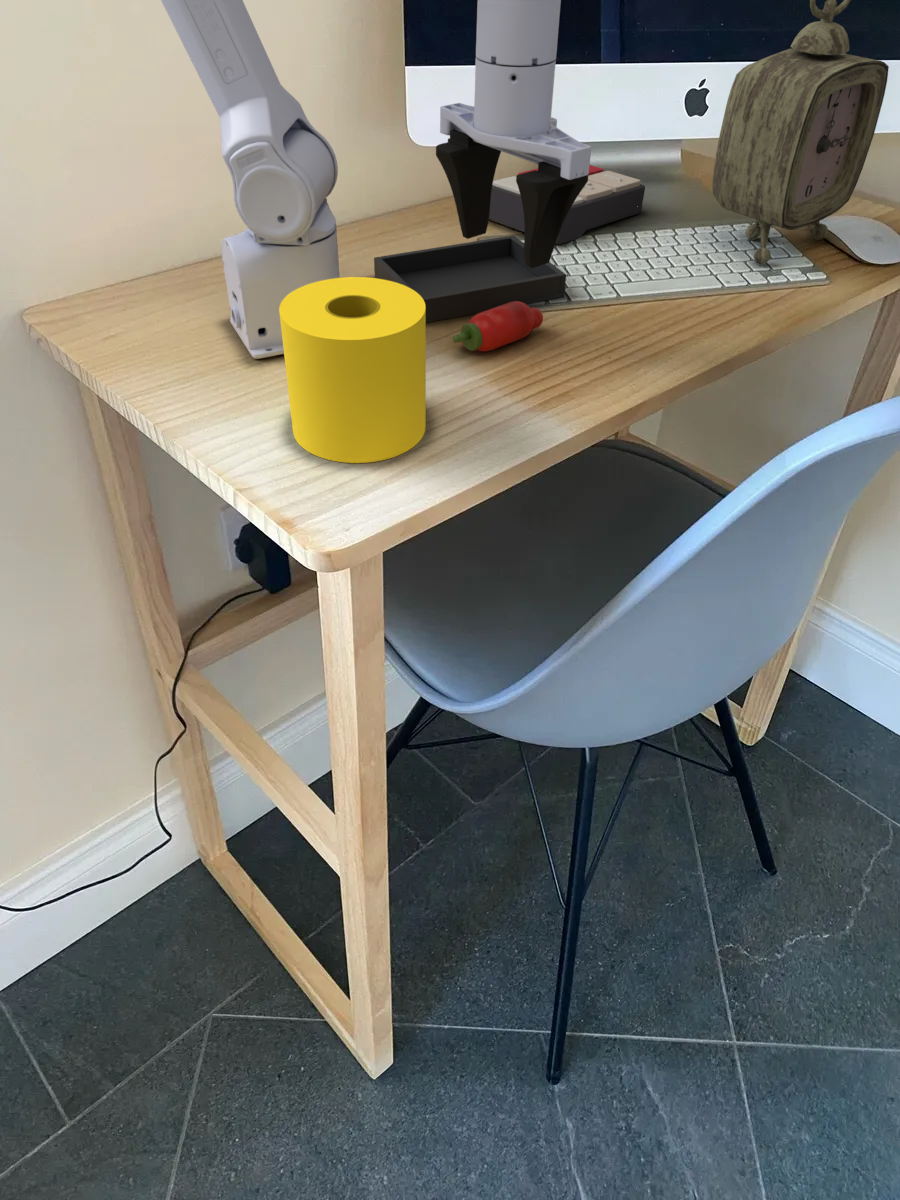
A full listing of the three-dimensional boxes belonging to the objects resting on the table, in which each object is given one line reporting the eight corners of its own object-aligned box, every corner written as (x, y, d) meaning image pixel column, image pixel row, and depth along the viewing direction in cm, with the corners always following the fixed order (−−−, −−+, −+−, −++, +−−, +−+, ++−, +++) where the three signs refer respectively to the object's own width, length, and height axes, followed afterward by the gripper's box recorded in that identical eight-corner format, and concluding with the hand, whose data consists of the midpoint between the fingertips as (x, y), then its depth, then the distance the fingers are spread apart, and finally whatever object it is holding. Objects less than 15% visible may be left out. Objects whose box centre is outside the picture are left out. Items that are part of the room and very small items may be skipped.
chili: (465, 368, 76) (466, 332, 74) (441, 353, 78) (441, 318, 76) (551, 334, 81) (555, 300, 79) (526, 322, 83) (529, 287, 80)
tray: (417, 324, 82) (417, 301, 80) (374, 279, 89) (373, 257, 87) (564, 297, 87) (566, 274, 85) (512, 256, 94) (513, 234, 92)
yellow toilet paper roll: (449, 440, 68) (452, 320, 61) (326, 477, 64) (315, 352, 57) (388, 382, 74) (384, 267, 68) (272, 412, 70) (257, 293, 64)
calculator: (648, 178, 102) (563, 202, 93) (641, 218, 104) (558, 245, 96) (572, 155, 107) (485, 176, 99) (567, 194, 110) (482, 217, 101)
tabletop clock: (763, 275, 91) (838, -25, 75) (691, 248, 96) (746, -38, 80) (841, 241, 98) (926, -39, 82) (770, 217, 103) (836, -51, 87)
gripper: (630, 69, 63) (604, 265, 72) (490, 33, 71) (483, 213, 80) (557, 84, 59) (540, 287, 68) (418, 45, 67) (420, 231, 76)
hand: (505, 249), depth 74 cm, fingers open, 7 cm apart
